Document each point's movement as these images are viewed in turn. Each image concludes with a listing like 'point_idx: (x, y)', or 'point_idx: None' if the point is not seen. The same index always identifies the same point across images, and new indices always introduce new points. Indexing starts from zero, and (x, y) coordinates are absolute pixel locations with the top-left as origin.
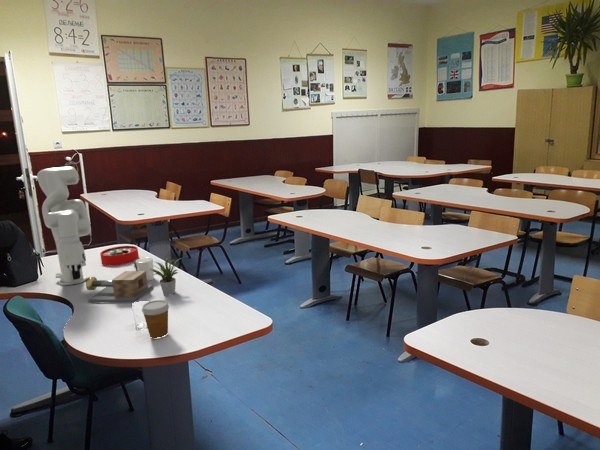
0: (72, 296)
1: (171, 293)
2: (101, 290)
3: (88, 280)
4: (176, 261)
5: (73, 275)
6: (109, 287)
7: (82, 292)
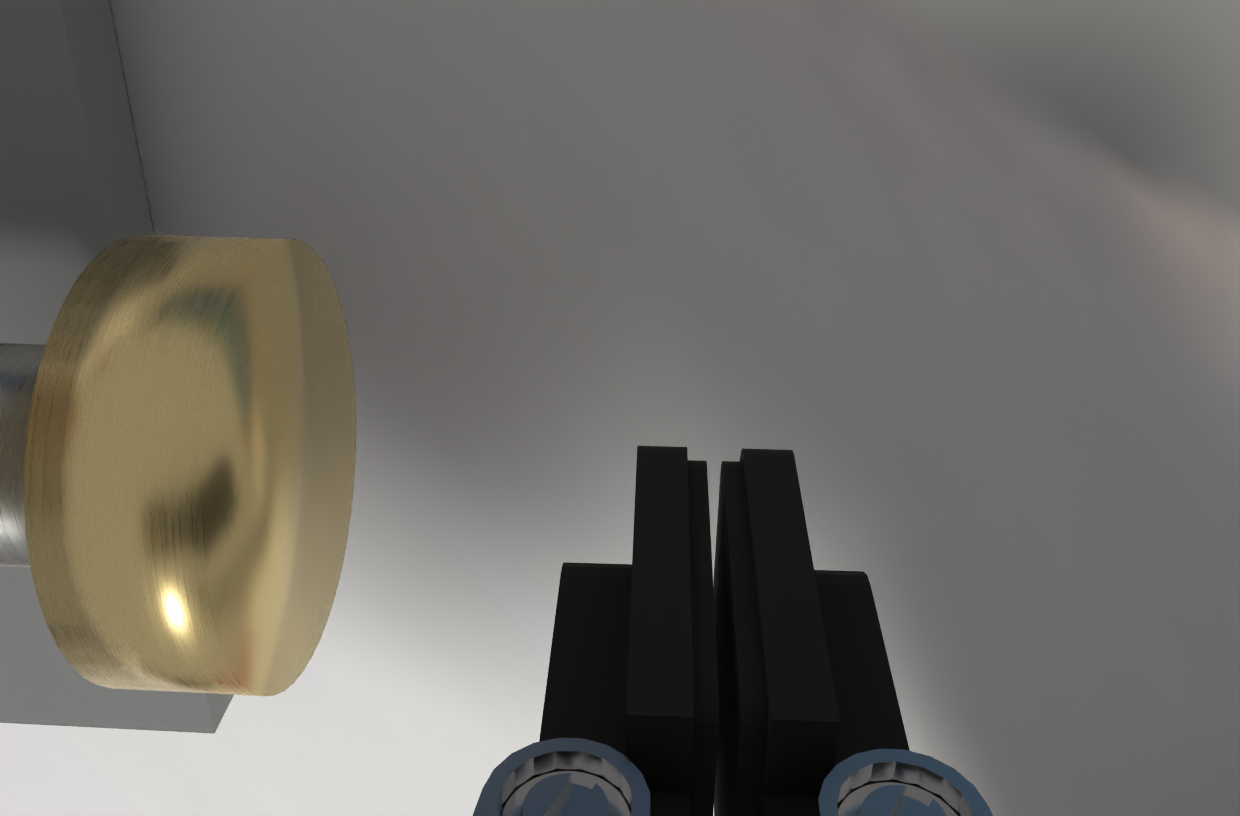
0: (881, 206)
1: None
2: None
3: (114, 409)
4: None
5: (760, 556)
6: None
7: None
